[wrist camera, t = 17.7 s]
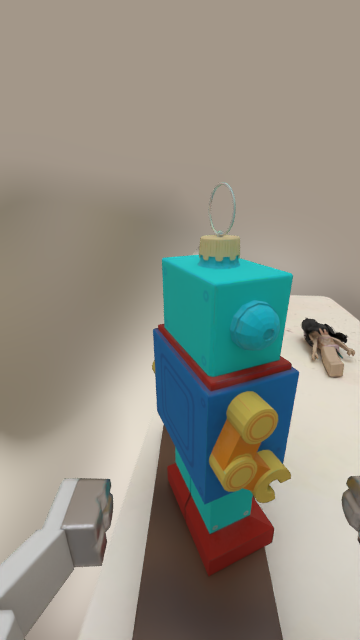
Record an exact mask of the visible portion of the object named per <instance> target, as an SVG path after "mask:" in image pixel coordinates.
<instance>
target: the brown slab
mask: <svg viewBox="0 0 360 640" xmlns="http://www.w3.org/2000/svg"><path fill="white" fill-rule="evenodd" d="M174 463H176V457H175V445H174V443H173V441H172V439H171V437H170V435H169V433H168V431H167V429H166V427H165V425H164V426H163V433H162V440H161V446H160V453H159V460H158V467H157V474H156V481H155V487H154V494H153V501H152V508H151V515H150V522H149V529H148V535H147V542H146V549H145V556H144V563H143V570H142V577H141V583H140V590H139V597H138V604H137V611H136V618H135V625H134V631H133V638H132V640H283V638H282V633H281V628H280V623H279V618H278V613H277V608H276V603H275V598H274V592H273V587H272V582H271V577H270V572H269V567H268V562H267V557H266V552H265V547H262V548H261V549H259V550H257V551H255V552H253V553H251V554H249V555H248V556H246V557H244V558H242V559H240V560H238V561H236V562H234V563H233V564H231V565H229V566H227V567H225V568H223V569H221V570H219V571H218V572H216V573H214V574H212V575H210V576H208V574H207V571H206V569H205V566H204V564H203V562H202V559H201V557H200V555H199V552H198V550H197V547H196V545H195V543H194V540H193V538H192V535H191V533H190V531H189V528H188V526H187V523H186V520H185V519H184V516H183V514H182V512H181V509H180V507H179V504H178V502H177V500H176V497H175V495H174V492H173V490H172V488H171V485H170V483H169V480H168V471H167V466H169V465H172V464H174ZM253 498H254V499H255V497H254V495H253Z"/></svg>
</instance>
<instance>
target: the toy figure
mask: <svg viewBox="0 0 360 640" xmlns="http://www.w3.org/2000/svg"><path fill="white" fill-rule="evenodd" d="M301 328H302V329H303V330H304V336H306V339H305V340H306V341H307V342H308V343H309V345H310V346H312V345H311V344H313V346H312V348H313V353H312V359H313V360H315V357H316V358H317V359H318V354H317V353H316V351H317V347H318V348H319V349H320V350H321V356H322V360H323V364H324V366H325V368H326V370H327V372H328V374H329V375H330V377H336V376H342V375H343V369H344V364H343V363H342V361H341V360H340V358H339V357H338V355H339V356H340V357H341V358H343V357H342V356H341V355H340V353H339V346H340V347H341V348H343V349H344V350H346V351H347V354H348V355H349V356H350V355H351V354H352V356H354V354H355V351H354V350H353V349H349V348H348V347H347V346H346V345H345V343H346V342H347V337H348V336H347V337H346V335H344V334H342V333H336V332H335V333H334V331H333V329H332V327H330V326H329V325H327V324H324V325H323V324H319V323H318V322H317V321H316V322H315V320H314V319H308V318H306V319H305V320H303V322H302V327H301ZM309 340H311V341H312V342H313V343H312V342H310V341H309ZM343 342H345V343H343ZM337 354H338V355H337Z"/></svg>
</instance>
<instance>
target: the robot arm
mask: <svg viewBox="0 0 360 640" xmlns="http://www.w3.org/2000/svg"><path fill="white" fill-rule="evenodd" d="M346 484H347V486H348V488H349V489H348V490H347V491H345V492H344V493H343V496H342V507H343V511H344V514H345V517H346V519H347V521H348V523H349V525H350V526H352V527H353V528H354V529H355V530H356V531H358V541H359V543H360V476H351V477H349V478H348V480H347V483H346ZM110 488H111V482H110V479H85V478H84V479H82V478H65V479H64V480H63V482H62V483H61V485H60V487H59V490H58V492H57V494H56V497H55V499H54V501H53V504H52V506H51V508H50V511H49V513H48V516H47V518H46V520H45V523H44V525H43V527H42V530H36V531H35V532H34V533H33V534H32V535H31V536H30V537H29V538H28V539H27V540H26V541H25V542H24V543H23V544H22V545H21V546H20V547H18V548H17V549H16V550H15V551H14V552H13V553H12V554H11V555H10V556H9V557H8V558H7V559H6V560H5V561H4V562H3V563H2V564H1V565H0V640H25V636H26V635H27V634H28V632H29V631H30V629H31V628H32V627H33V625H34V624H35V623H36V621H37V620H38V618H39V617H40V616H41V614H42V613H43V612H44V610H45V609H46V607H47V606H48V604H49V603H50V602H51V600H52V599H53V598H54V596H55V595H56V594H57V592H58V591H59V589H60V588H61V587H62V585H63V584H64V583H65V581H66V580H67V578H68V577H69V576H70V574H71V573H72V572H73V570H74V567H89V566H102V562H103V558H104V553H105V549H106V544H107V539H106V533H105V532H106V531H107V530H108V529H109V528H110V525H111V520H112V513H113V495H112V494H111V493H110Z"/></svg>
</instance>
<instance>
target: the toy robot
mask: <svg viewBox="0 0 360 640" xmlns="http://www.w3.org/2000/svg"><path fill="white" fill-rule="evenodd" d="M220 185H226V186H227V187H228V188H229V190H230V192H231V195H232V199H233V216H232V220H231V224H230V226H229V228H228V230H227V231H226V232H225V233H223V231H218V232H217V231H216V230H215V229H214V226H213V224H212V219H211V202H212V198H213V195H214V192H215V190H216V189H217V188H218V187H219V186H220ZM235 206H236V204H235V197H234V193H233V191H232V189H231V187H230V186H229V185H228V184H227V183H225V182H222V183H219V184H218V185H217V186H216V187H215V188H214V190H213V192H212V194H211V198H210V203H209V220H210V224H211V227H212V229H213V231H214V232H215V233H216V234H217V235H207V236H202V237H201V238H200V248H199V255H191V256H179V257H167V258H163V259H162V271H163V298H164V324H160V325H158V328H156V329H153V336H154V357H155V360H154V362H153V365H152V369H153V371H154V373H155V377H156V394H157V395H156V396H157V411H158V413H159V415H160V417H161V419H162V421H163V423H164V425H165V427H166V429H167V431H168V433H169V435H170V437H171V439H172V441H173V443H174V445H175V457H176V463H174V464H172V465H169V466H167V471H168V480H169V483H170V485H171V488H172V490H173V492H174V495H175V497H176V500H177V502H178V504H179V507H180V509H181V512H182V514H183V516H184V519H185V520H186V523H187V526H188V528H189V531H190V533H191V535H192V538H193V540H194V543H195V545H196V547H197V550H198V552H199V555H200V557H201V559H202V562H203V564H204V566H205V569H206V571H207V574H208V576H210V575H212V574H214V573H216V572H218V571H219V570H221V569H223V568H225V567H227V566H229V565H231V564H233V563H234V562H236V561H238V560H240V559H242V558H244V557H246V556H248V555H249V554H251V553H253V552H255V551H257V550H259V549H261V548H262V547H264V546H266V545H268V544H270V543H272V540H273V534H274V527H273V526H272V524H271V523H270V521H269V520H268V518H267V517H266V515H265V514H264V512H263V511H262V509H261V508H260V507H259V505H258V504H257V502H256V501H255V499H254V498H253V495H254V497H255V498H256V500H257V501H258V502H260V503H266V502H269V501H272V500H273V499H275V494H274V490H273V489H272V488H271V486H270V485H269V484H270V483H271V482H272V481H274V480H277V479H278V481H279V482H280V483H282V482H284V481H286V480H288V479H291V474H290V472H289V470H288V469H287V468H286V467H285V466H284V465H283V461H284V455H285V450H286V444H287V438H288V433H289V427H290V422H291V416H292V410H293V405H294V399H295V394H296V388H297V382H298V377H299V372H298V371H297V370H296V369H294V368H293V367H292V364H291V363H290V362H289V361H287V360H286V359H284V358H283V357H281V356H280V354H281V347H282V341H283V335H284V329H285V322H286V316H287V310H288V304H289V298H290V291H291V285H292V279H293V275H292V274H291V273H288V272H285V271H281V270H278V269H274V268H271V267H268V266H264V265H261V264H257V263H254V262H251V261H247V260H244V259H240V238H239V237H238V236H232V235H226V234H227V233H228V232H229V231H230V229H231V227H232V225H233V222H234V218H235V208H236V207H235Z"/></svg>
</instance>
